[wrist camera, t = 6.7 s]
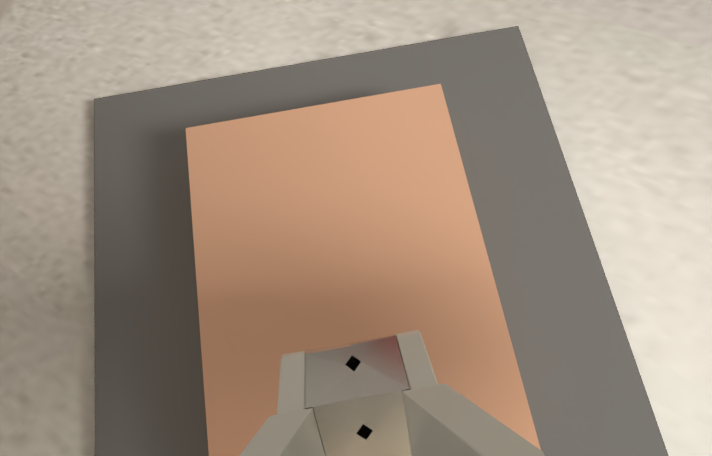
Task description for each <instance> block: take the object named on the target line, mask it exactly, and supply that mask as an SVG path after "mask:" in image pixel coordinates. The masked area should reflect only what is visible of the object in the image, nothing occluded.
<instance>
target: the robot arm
mask: <svg viewBox="0 0 712 456" xmlns="http://www.w3.org/2000/svg"><path fill="white" fill-rule="evenodd" d="M239 456H545V455H544V454H543V452H542V451H541V450H540V449H538V448H537V447H535V446H534V445H533V444H531V443H530V442H528V441H527V440H525V439H524V438H523V437H521V436H520V435H518V434H517V433H515V432H514V431H513V430H511V429H510V428H508V427H507V426H505V425H504V424H503V423H501V422H500V421H498V420H497V419H495V418H494V417H493V416H491V415H490V414H488V413H487V412H485V411H484V410H483V409H481V408H480V407H478V406H477V405H475V404H474V403H473V402H471V401H470V400H468V399H467V398H465V397H464V396H463V395H461V394H460V393H458V392H457V391H455V390H454V389H453V388H451V387H450V386H448V385H447V384H445V383H444V384H439V385H438V382H437V379H436V377H435V374H434V371H433V368H432V365H431V362H430V359H429V356H428V353H427V350H426V347H425V344H424V342H423V339H422V336H421V333H420V331H419V330H413V331H408V332H403V333H398V334H396V335H390V336H385V337H380V338H375V339H369V340H364V341H359V342H354V343H348V344H341V345H335V346H329V347H323V348H316V349H310V350H306V351H300V352H294V353H288V354H283V355H282V358H281V362H280V376H279V390H278V404H277V415H272V416H269V418H268V419H267V420H266V421H265V423H264V424H263V425H262V427H261V428H260V429H259V430H258V432H257V433H256V434H255V436H254V437H253V438H252V439H251V441H250V442H249V443H248V445H247V446H246V447H245V449H244V450H243V451H242V452H241V454H240V455H239Z"/></svg>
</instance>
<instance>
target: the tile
mask: <svg viewBox="0 0 712 456" xmlns="http://www.w3.org/2000/svg"><path fill="white" fill-rule="evenodd" d="M186 141H187V155H188V169H189V183H190V197H191V211H192V225H193V240H194V254H195V268H196V282H197V296H198V310H199V324H200V338H201V352H202V366H203V381H204V395H205V409H206V423H207V437H208V451H209V456H239V455H240V454H241V452H242V451H243V450H244V449H245V447H246V446H247V445H248V443H249V442H250V441H251V439H252V438H253V437H254V436H255V434H256V433H257V432H258V430H259V429H260V428H261V427H262V425H263V424H264V423H265V421H266V420H267V419H268V418H269V416H272V415H277V404H278V390H279V376H280V362H281V358H282V355H283V354H288V353H294V352H300V351H306V350H310V349H316V348H323V347H329V346H335V345H341V344H348V343H354V342H359V341H364V340H369V339H375V338H380V337H385V336H390V335H396V334H398V333H403V332H408V331H413V330H419V331H420V333H421V336H422V339H423V342H424V344H425V347H426V350H427V353H428V356H429V359H430V362H431V365H432V368H433V371H434V374H435V377H436V379H437V382H438V385H439V384H444V383H445V384H447V385H448V386H450V387H451V388H453V389H454V390H455V391H457V392H458V393H460V394H461V395H463V396H464V397H465V398H467V399H468V400H470V401H471V402H473V403H474V404H475V405H477V406H478V407H480V408H481V409H483V410H484V411H485V412H487V413H488V414H490V415H491V416H493V417H494V418H495V419H497V420H498V421H500V422H501V423H503V424H504V425H505V426H507V427H508V428H510V429H511V430H513V431H514V432H515V433H517V434H518V435H520V436H521V437H523V438H524V439H525V440H527V441H528V442H530V443H531V444H533V445H534V446H535V447H537V448H538V449H540V450H541V448H540V445H539V441H538V437H537V434H536V430H535V426H534V423H533V419H532V415H531V412H530V408H529V404H528V401H527V397H526V394H525V390H524V386H523V383H522V379H521V375H520V372H519V368H518V364H517V361H516V357H515V353H514V350H513V346H512V342H511V339H510V335H509V331H508V328H507V324H506V320H505V317H504V313H503V309H502V306H501V302H500V298H499V295H498V291H497V287H496V284H495V280H494V276H493V273H492V269H491V265H490V262H489V258H488V254H487V251H486V247H485V244H484V240H483V236H482V233H481V229H480V225H479V222H478V218H477V214H476V211H475V207H474V203H473V200H472V196H471V192H470V189H469V185H468V181H467V178H466V174H465V170H464V167H463V163H462V159H461V156H460V152H459V148H458V145H457V141H456V137H455V134H454V130H453V126H452V123H451V119H450V115H449V112H448V108H447V105H446V101H445V97H444V94H443V90H442V86H441V84H436V85H430V86H424V87H418V88H413V89H407V90H401V91H396V92H390V93H384V94H378V95H373V96H367V97H361V98H355V99H350V100H344V101H338V102H332V103H327V104H321V105H315V106H309V107H304V108H298V109H292V110H287V111H281V112H275V113H269V114H264V115H258V116H252V117H246V118H241V119H235V120H229V121H223V122H218V123H212V124H206V125H200V126H195V127H189V128H186Z"/></svg>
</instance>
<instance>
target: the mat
mask: <svg viewBox="0 0 712 456" xmlns="http://www.w3.org/2000/svg"><path fill="white" fill-rule="evenodd" d="M436 84H441V86H442V90H443V94H444V97H445V101H446V105H447V108H448V112H449V115H450V119H451V123H452V126H453V130H454V134H455V137H456V141H457V145H458V148H459V152H460V156H461V159H462V163H463V167H464V170H465V174H466V178H467V181H468V185H469V189H470V192H471V196H472V200H473V203H474V207H475V211H476V214H477V218H478V222H479V225H480V229H481V233H482V236H483V240H484V244H485V247H486V251H487V254H488V258H489V262H490V265H491V269H492V273H493V276H494V280H495V284H496V287H497V291H498V295H499V298H500V302H501V306H502V309H503V313H504V317H505V320H506V324H507V328H508V331H509V335H510V339H511V342H512V346H513V350H514V353H515V357H516V361H517V364H518V368H519V372H520V375H521V379H522V383H523V386H524V390H525V394H526V397H527V401H528V404H529V408H530V412H531V415H532V419H533V423H534V426H535V430H536V434H537V437H538V441H539V445H540V448H541V451H542V452H543V454H544V455H545V456H668V453H667V450H666V447H665V444H664V442H663V439H662V436H661V433H660V430H659V427H658V424H657V422H656V419H655V416H654V413H653V410H652V407H651V404H650V402H649V399H648V396H647V393H646V390H645V387H644V384H643V382H642V379H641V376H640V373H639V370H638V367H637V364H636V362H635V359H634V356H633V353H632V350H631V347H630V344H629V342H628V339H627V336H626V333H625V330H624V327H623V324H622V322H621V319H620V316H619V313H618V310H617V307H616V304H615V302H614V299H613V296H612V293H611V290H610V287H609V284H608V282H607V279H606V276H605V273H604V270H603V267H602V264H601V261H600V259H599V256H598V253H597V250H596V247H595V244H594V241H593V239H592V236H591V233H590V230H589V227H588V224H587V221H586V219H585V216H584V213H583V210H582V207H581V204H580V201H579V199H578V196H577V193H576V190H575V187H574V184H573V181H572V179H571V176H570V173H569V170H568V167H567V164H566V161H565V159H564V156H563V153H562V150H561V147H560V144H559V141H558V139H557V136H556V133H555V130H554V127H553V124H552V121H551V119H550V116H549V113H548V110H547V107H546V104H545V101H544V99H543V96H542V93H541V90H540V87H539V84H538V81H537V78H536V76H535V73H534V70H533V67H532V64H531V61H530V58H529V56H528V53H527V50H526V47H525V44H524V41H523V38H522V36H521V33H520V30H519V27H518V26H515V27H509V28H504V29H498V30H492V31H486V32H480V33H475V34H469V35H463V36H457V37H451V38H446V39H440V40H434V41H428V42H422V43H417V44H411V45H405V46H399V47H393V48H388V49H382V50H376V51H370V52H364V53H359V54H353V55H347V56H341V57H335V58H330V59H324V60H318V61H312V62H306V63H301V64H295V65H289V66H283V67H277V68H272V69H266V70H260V71H254V72H248V73H243V74H237V75H231V76H225V77H219V78H214V79H208V80H202V81H196V82H190V83H185V84H179V85H173V86H167V87H161V88H156V89H150V90H144V91H138V92H132V93H127V94H121V95H115V96H109V97H103V98H98V99H94V250H95V456H209V451H208V437H207V423H206V409H205V395H204V381H203V366H202V352H201V338H200V324H199V310H198V296H197V282H196V268H195V254H194V240H193V225H192V211H191V197H190V183H189V169H188V155H187V141H186V128H189V127H195V126H200V125H206V124H212V123H218V122H223V121H229V120H235V119H241V118H246V117H252V116H258V115H264V114H269V113H275V112H281V111H287V110H292V109H298V108H304V107H309V106H315V105H321V104H327V103H332V102H338V101H344V100H350V99H355V98H361V97H367V96H373V95H378V94H384V93H390V92H396V91H401V90H407V89H413V88H418V87H424V86H430V85H436Z"/></svg>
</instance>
